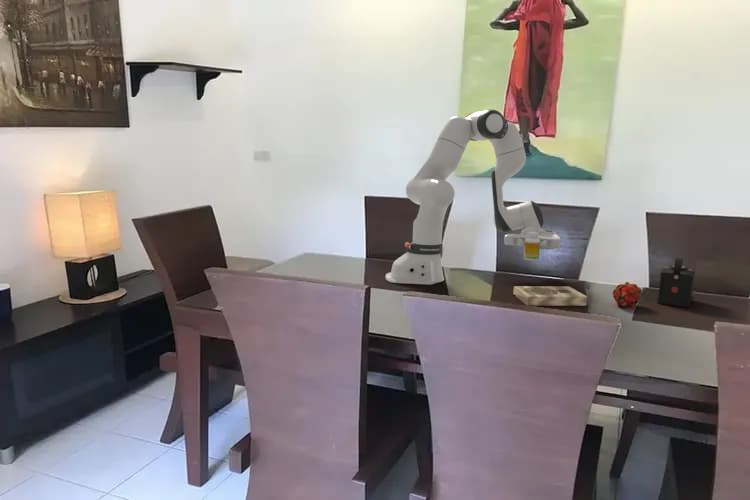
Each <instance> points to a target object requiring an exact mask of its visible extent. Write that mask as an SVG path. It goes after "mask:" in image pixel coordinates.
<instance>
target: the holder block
mask: <svg viewBox="0 0 750 500" xmlns="http://www.w3.org/2000/svg"><path fill="white" fill-rule="evenodd" d="M512 294H513V296H514V295H515V298H517V299H518V300H520V301H521V302H522V303H523V304H525V305H526V306H563V307H564V306H565V307H566V306H569V307H570V306H584V307H585V306H587V303H588V296H587V295H585V294H584V293H582V292H580V291H578V290H576V289H575V288H573V287H572V286H561V285H560V286H557V285H556V286H555V285H554V286H551V285H549V286H548V285H546V286H544V285H543V286H542V285H541V286H540V285H539V286H537V285H536V286H532V285H531V286H530V285H529V286H528V285H526V286H525V285H522V286H520V285H519V286H518V285H517V286H515V285H514V286H513V293H512Z"/></svg>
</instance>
